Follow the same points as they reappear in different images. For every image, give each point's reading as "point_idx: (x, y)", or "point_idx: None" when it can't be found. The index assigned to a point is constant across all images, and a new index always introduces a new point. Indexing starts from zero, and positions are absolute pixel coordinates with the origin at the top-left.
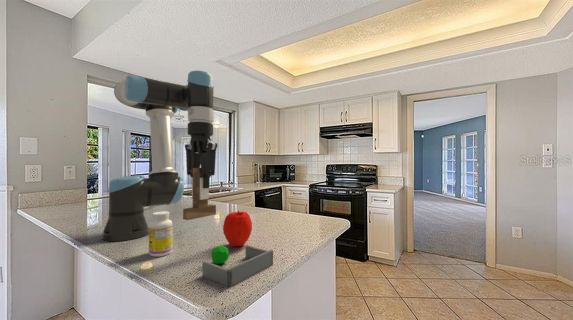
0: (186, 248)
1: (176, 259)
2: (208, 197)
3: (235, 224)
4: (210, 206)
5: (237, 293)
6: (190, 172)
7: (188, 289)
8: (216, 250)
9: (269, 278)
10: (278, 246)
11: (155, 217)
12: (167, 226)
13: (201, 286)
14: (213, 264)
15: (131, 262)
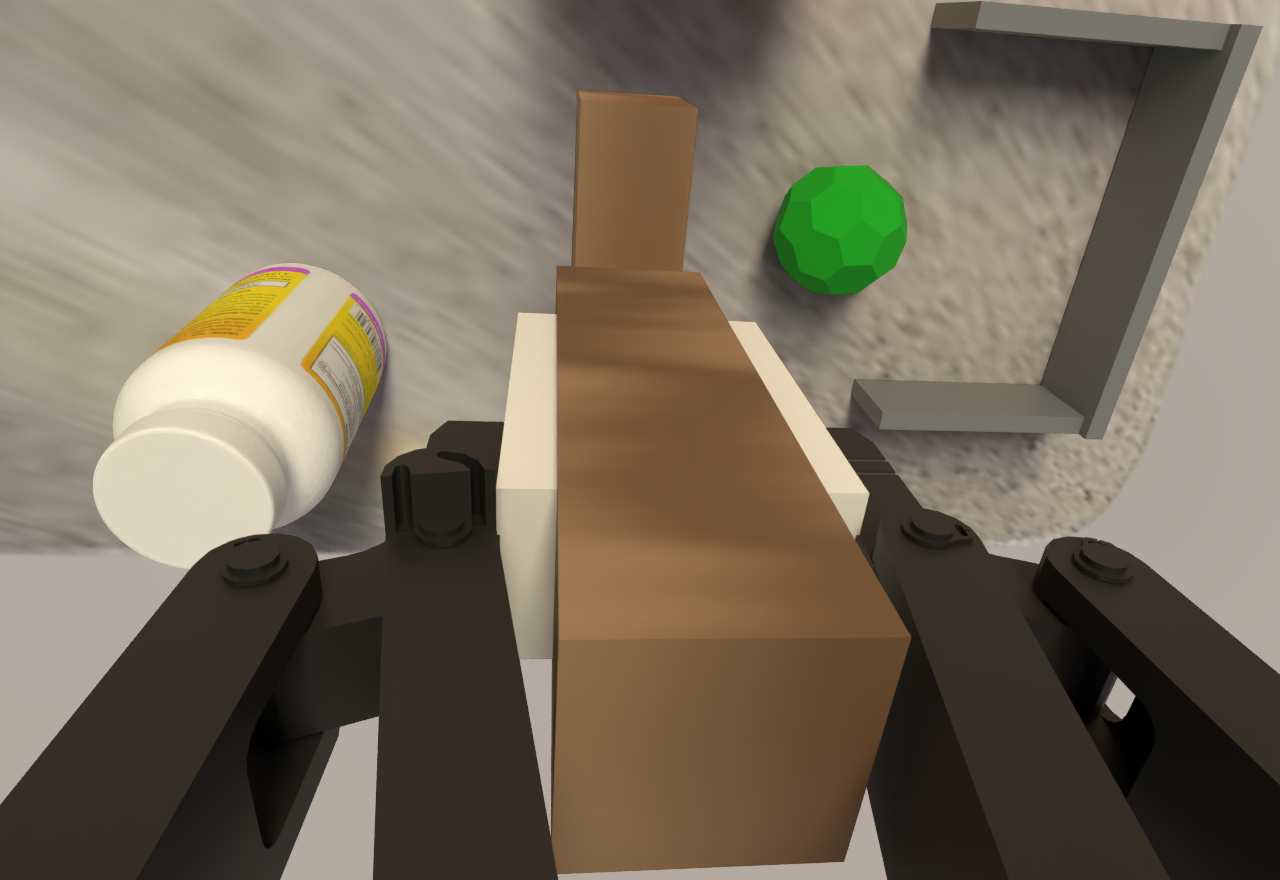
0: (347, 151)
1: (514, 339)
2: (760, 334)
3: None
4: (686, 210)
5: None
6: (328, 712)
7: None
8: (853, 282)
9: (1212, 217)
10: None
11: None
12: (340, 431)
13: (922, 461)
14: (961, 419)
15: (334, 510)
